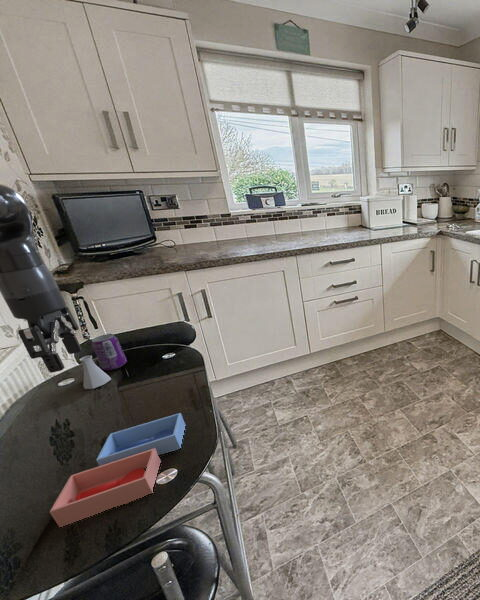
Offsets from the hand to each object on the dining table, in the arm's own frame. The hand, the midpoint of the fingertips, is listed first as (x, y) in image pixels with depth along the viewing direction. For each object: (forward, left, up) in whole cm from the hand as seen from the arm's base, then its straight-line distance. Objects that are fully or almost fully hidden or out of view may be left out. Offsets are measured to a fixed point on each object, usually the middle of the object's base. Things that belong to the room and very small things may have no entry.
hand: (67, 361), depth 70 cm
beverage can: (-14, +54, -26) cm, 62 cm away
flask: (-16, +43, -26) cm, 53 cm away
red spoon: (+4, -14, -26) cm, 29 cm away
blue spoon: (+8, -2, -26) cm, 27 cm away
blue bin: (+8, -2, -26) cm, 27 cm away
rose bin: (+4, -14, -26) cm, 30 cm away
